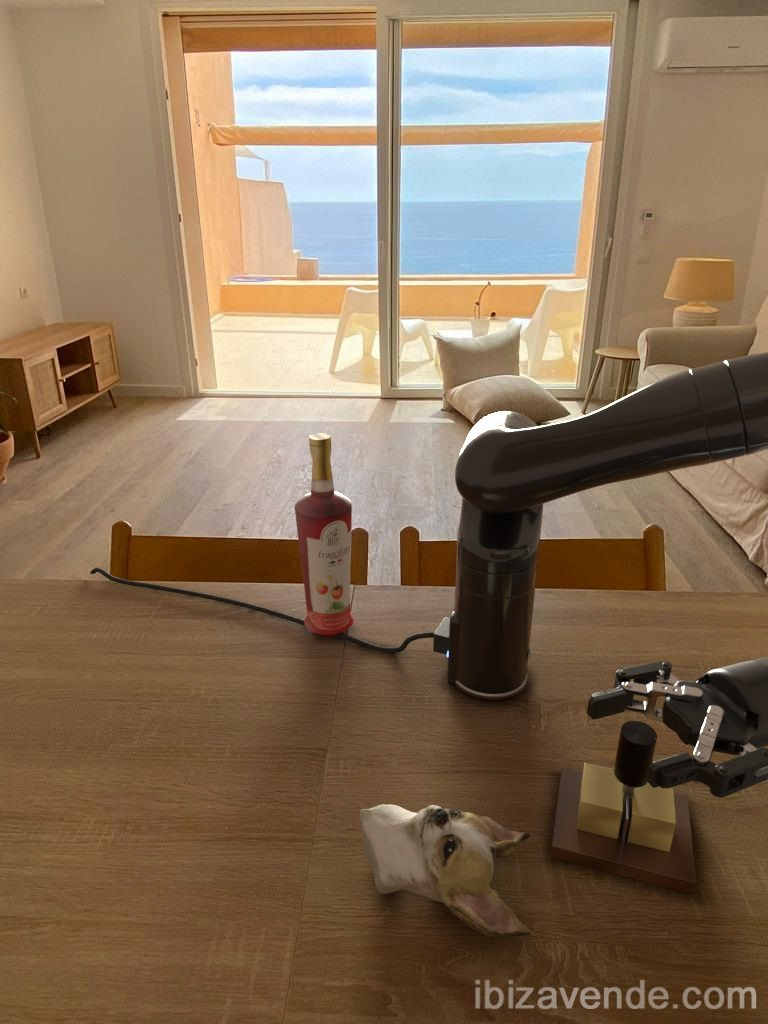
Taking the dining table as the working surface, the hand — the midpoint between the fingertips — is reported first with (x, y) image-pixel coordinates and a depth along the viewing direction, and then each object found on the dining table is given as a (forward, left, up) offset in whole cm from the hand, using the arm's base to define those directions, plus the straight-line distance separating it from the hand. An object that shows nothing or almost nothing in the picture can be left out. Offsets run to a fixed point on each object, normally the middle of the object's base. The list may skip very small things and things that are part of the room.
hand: (618, 740), depth 60 cm
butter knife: (+2, +1, -10) cm, 10 cm away
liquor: (-37, +24, -12) cm, 46 cm away
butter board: (+2, +1, -12) cm, 12 cm away
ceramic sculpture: (-13, -9, -12) cm, 20 cm away
